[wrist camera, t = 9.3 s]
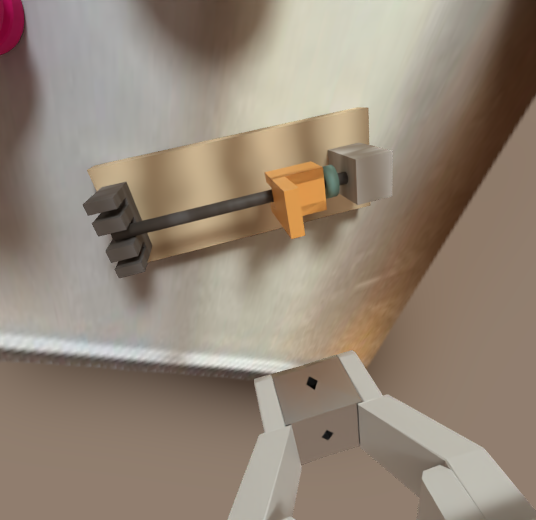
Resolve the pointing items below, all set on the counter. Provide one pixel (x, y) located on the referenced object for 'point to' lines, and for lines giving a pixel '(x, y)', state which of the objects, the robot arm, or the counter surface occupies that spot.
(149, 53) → the counter surface
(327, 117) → the cord board
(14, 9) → the pepper mill
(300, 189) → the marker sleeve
